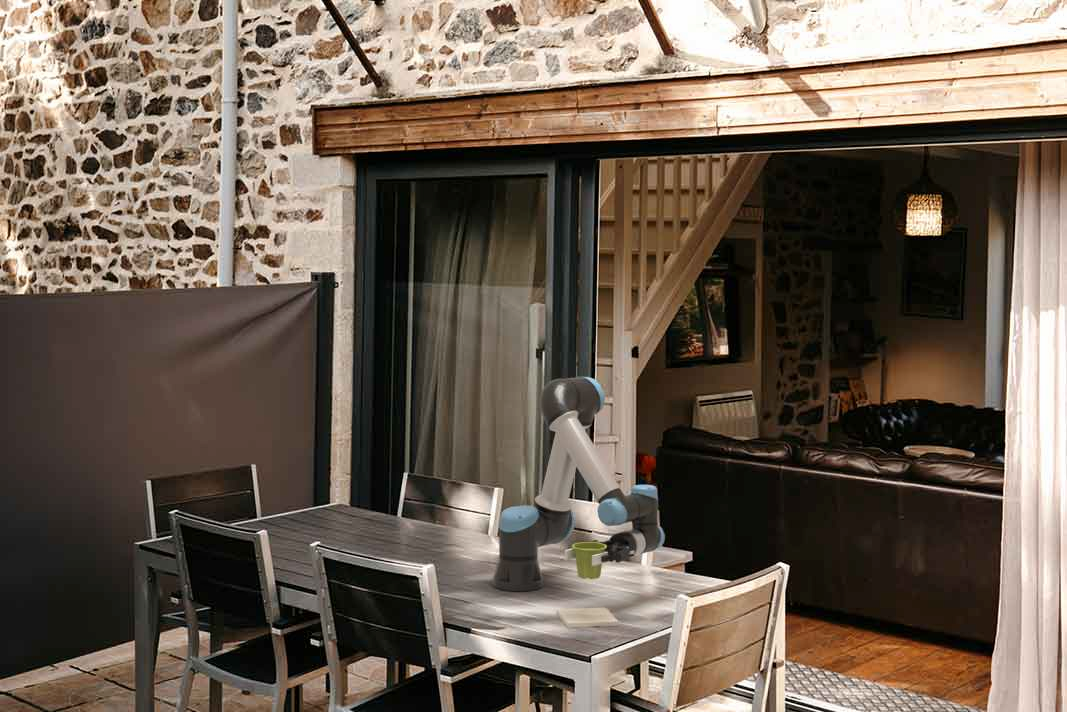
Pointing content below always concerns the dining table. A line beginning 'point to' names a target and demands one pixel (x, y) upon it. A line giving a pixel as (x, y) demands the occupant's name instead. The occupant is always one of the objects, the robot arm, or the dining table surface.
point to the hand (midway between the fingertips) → (579, 558)
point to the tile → (587, 617)
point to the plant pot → (588, 559)
